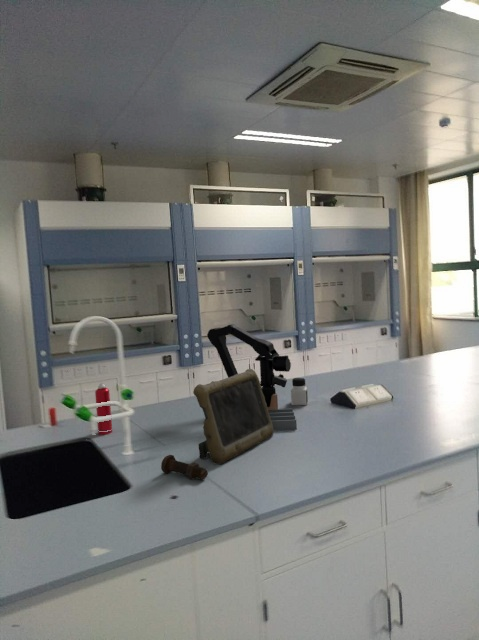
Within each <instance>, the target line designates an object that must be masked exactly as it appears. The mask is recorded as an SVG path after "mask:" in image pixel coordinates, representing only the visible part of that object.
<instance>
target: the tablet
mask: <svg viewBox="0 0 479 640" xmlns="http://www.w3.org/2000/svg"><path fill="white" fill-rule="evenodd" d="M260 381H261V380H260V378H259V376H258V374H257V373H256V371H255V370H254V369H253V368H247V369H246V370H245V371H244V372H241V373H238V374H235V375H234V376H232V377H229V378H228V377H226V378H223V379H220V380H215V381H211V382H209V383H206V384H201V383H198V384H197V385H196V386H195V387H194V389H193V394H194V396H195V397H196V400H197V403H198V405H199V408H201V409H202V411H203V415H204V420H203V427H202V428H203V435H204V437H205V440H204V441H202V442H200V443H198V451H199V454H198V455H199V456H198V458H199V459H201V460H204V459H206V458H207V457H208V453H209V457H210V460H211V462H212V463H213V464H215V465H223V464H224V463H226V462H227V461H229V460H230V459H232V458H234V457H237V456H238V455H240V454H242V453H244V452H246V450H249V449H251V448H252V447H254V446H256V445H257V444H259V443H262V442H263V441H265V440H266V439H268V438H271V437H272V436H274V430H273V425H272V421H271V418H270V415H269V412H268V409H267V404H266V402H265V397H264V395H263V392H262V390H261V385H260Z"/></svg>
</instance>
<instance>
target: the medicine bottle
mask: <svg viewBox="0 0 479 640" xmlns="http://www.w3.org/2000/svg"><path fill="white" fill-rule="evenodd" d="M291 383H292V385H291V386H292V387H291V390H290V397H291V398H290V399H291V405H292V406H308V397H309V396H308V387H307V386H306V378H303V377H294V378H293V379H292V381H291Z"/></svg>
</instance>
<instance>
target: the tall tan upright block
mask: <svg viewBox="0 0 479 640" xmlns="http://www.w3.org/2000/svg"><path fill="white" fill-rule="evenodd" d="M278 400H279V399H278V394H277V393H276V394H273V395H272V397H271V403H270V407H267V409H279V406H278V405H279V403H278V402H279V401H278Z"/></svg>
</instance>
